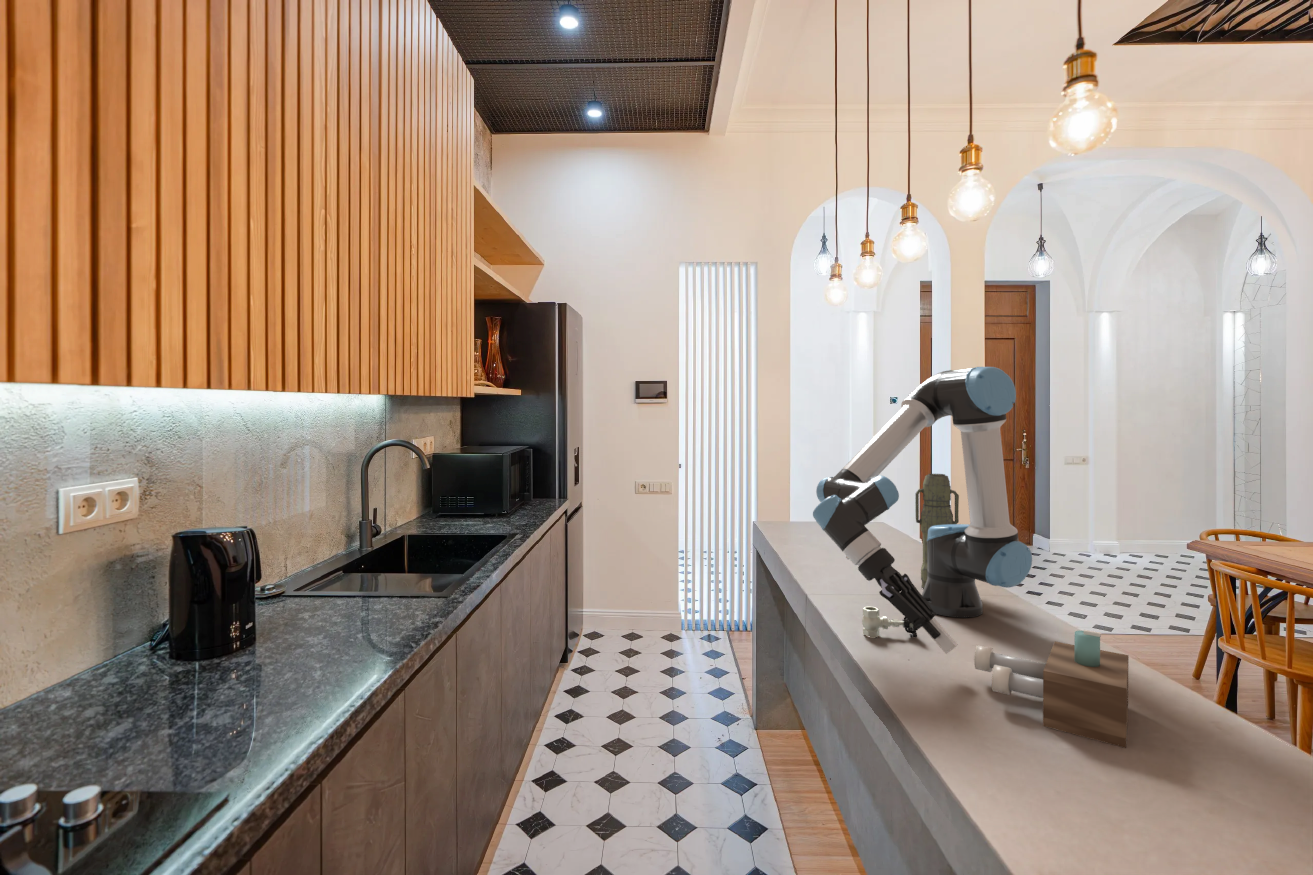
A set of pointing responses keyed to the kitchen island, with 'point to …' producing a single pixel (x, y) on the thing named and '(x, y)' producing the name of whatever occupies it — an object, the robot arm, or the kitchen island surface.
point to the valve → (883, 623)
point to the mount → (1086, 695)
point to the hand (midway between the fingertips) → (951, 649)
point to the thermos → (934, 510)
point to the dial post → (1087, 648)
